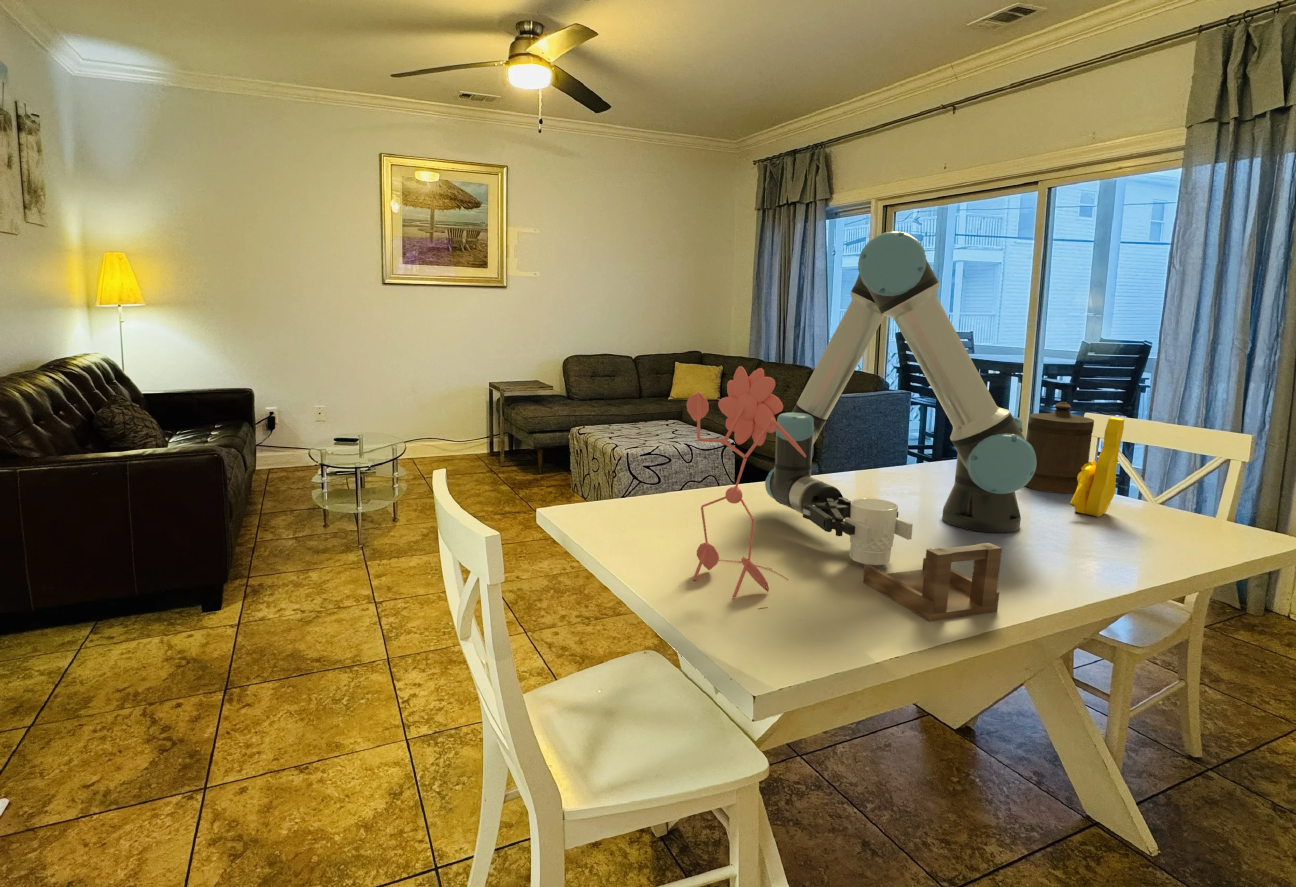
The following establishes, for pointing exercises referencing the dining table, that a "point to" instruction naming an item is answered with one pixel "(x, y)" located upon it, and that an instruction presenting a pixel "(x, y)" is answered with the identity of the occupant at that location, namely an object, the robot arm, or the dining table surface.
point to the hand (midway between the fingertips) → (889, 533)
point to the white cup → (874, 530)
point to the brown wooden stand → (944, 583)
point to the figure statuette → (1100, 474)
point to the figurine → (746, 416)
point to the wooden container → (1059, 448)
